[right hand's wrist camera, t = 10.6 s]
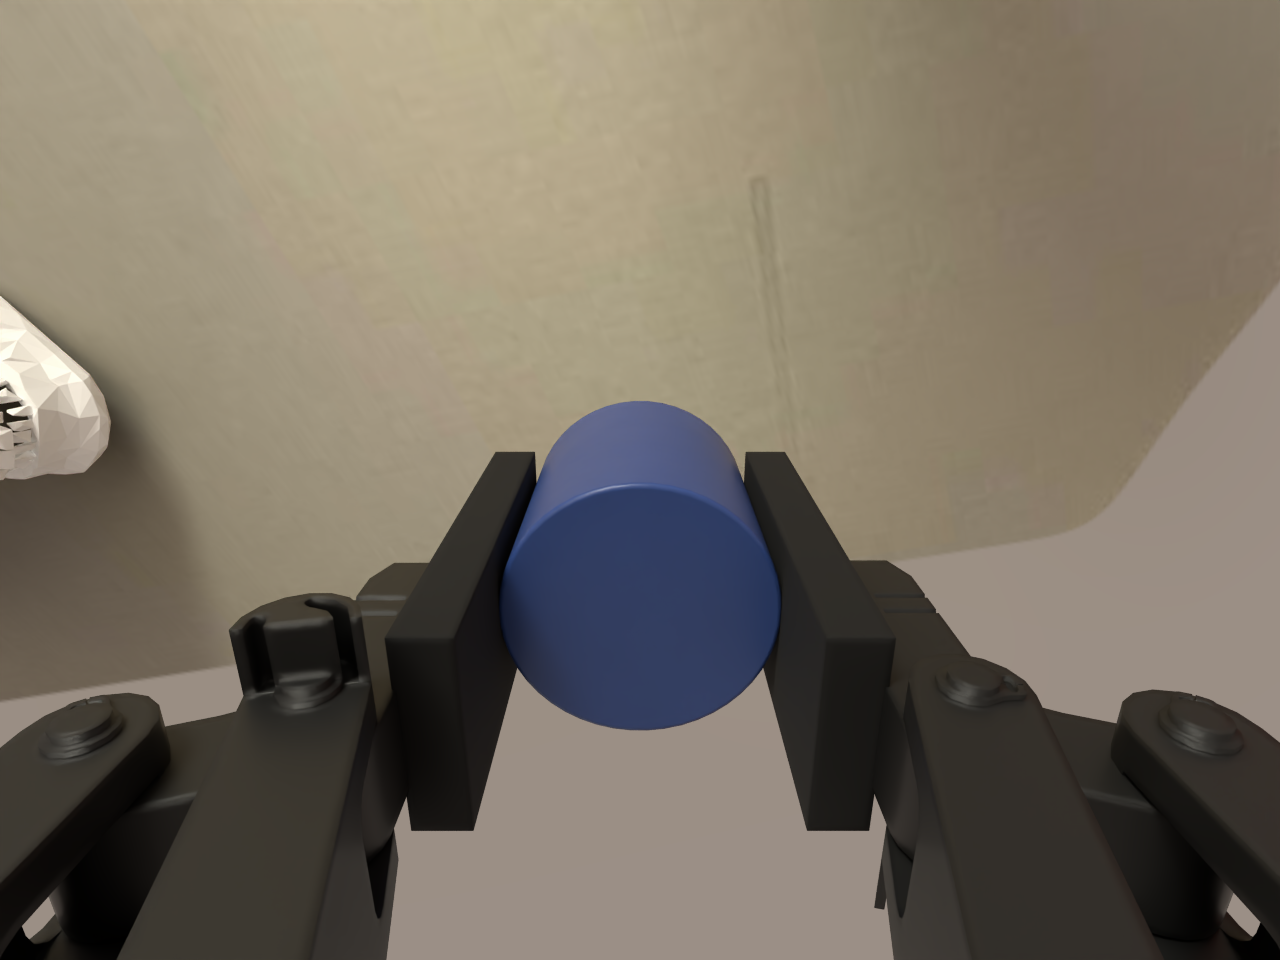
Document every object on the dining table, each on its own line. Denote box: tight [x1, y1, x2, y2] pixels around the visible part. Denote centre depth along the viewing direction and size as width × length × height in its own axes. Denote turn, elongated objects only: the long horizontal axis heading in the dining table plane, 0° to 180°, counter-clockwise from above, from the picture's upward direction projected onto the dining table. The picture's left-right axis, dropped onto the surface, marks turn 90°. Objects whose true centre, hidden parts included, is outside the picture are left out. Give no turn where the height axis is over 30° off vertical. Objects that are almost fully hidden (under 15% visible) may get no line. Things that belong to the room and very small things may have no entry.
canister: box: [499, 401, 782, 730], centre depth 13 cm, size 4×4×4 cm
